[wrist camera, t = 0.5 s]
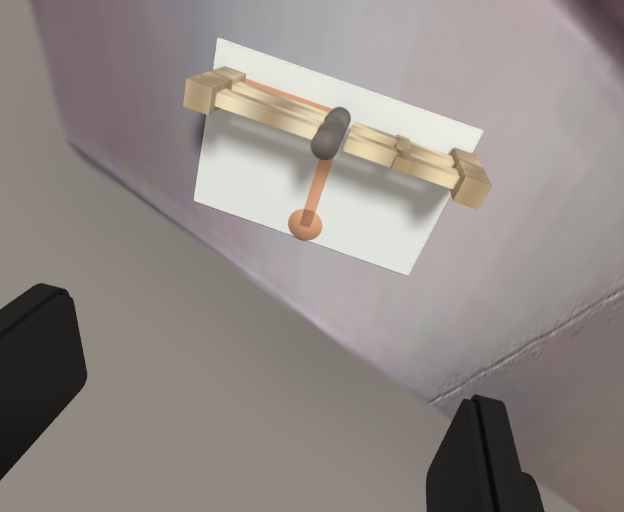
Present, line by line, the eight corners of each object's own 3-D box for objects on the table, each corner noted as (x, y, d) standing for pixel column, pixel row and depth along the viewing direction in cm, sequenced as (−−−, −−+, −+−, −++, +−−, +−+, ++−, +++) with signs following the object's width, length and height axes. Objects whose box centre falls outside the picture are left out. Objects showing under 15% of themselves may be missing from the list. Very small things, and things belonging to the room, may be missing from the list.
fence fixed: (221, 88, 38) (177, 109, 30) (225, 65, 37) (180, 81, 29) (346, 132, 38) (333, 163, 30) (354, 110, 37) (342, 137, 29)
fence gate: (349, 135, 37) (338, 161, 31) (356, 113, 36) (347, 135, 30) (464, 175, 37) (478, 209, 31) (475, 155, 36) (491, 186, 30)
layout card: (194, 200, 44) (193, 201, 44) (218, 37, 36) (217, 37, 35) (407, 275, 44) (407, 277, 44) (483, 130, 36) (483, 131, 35)
